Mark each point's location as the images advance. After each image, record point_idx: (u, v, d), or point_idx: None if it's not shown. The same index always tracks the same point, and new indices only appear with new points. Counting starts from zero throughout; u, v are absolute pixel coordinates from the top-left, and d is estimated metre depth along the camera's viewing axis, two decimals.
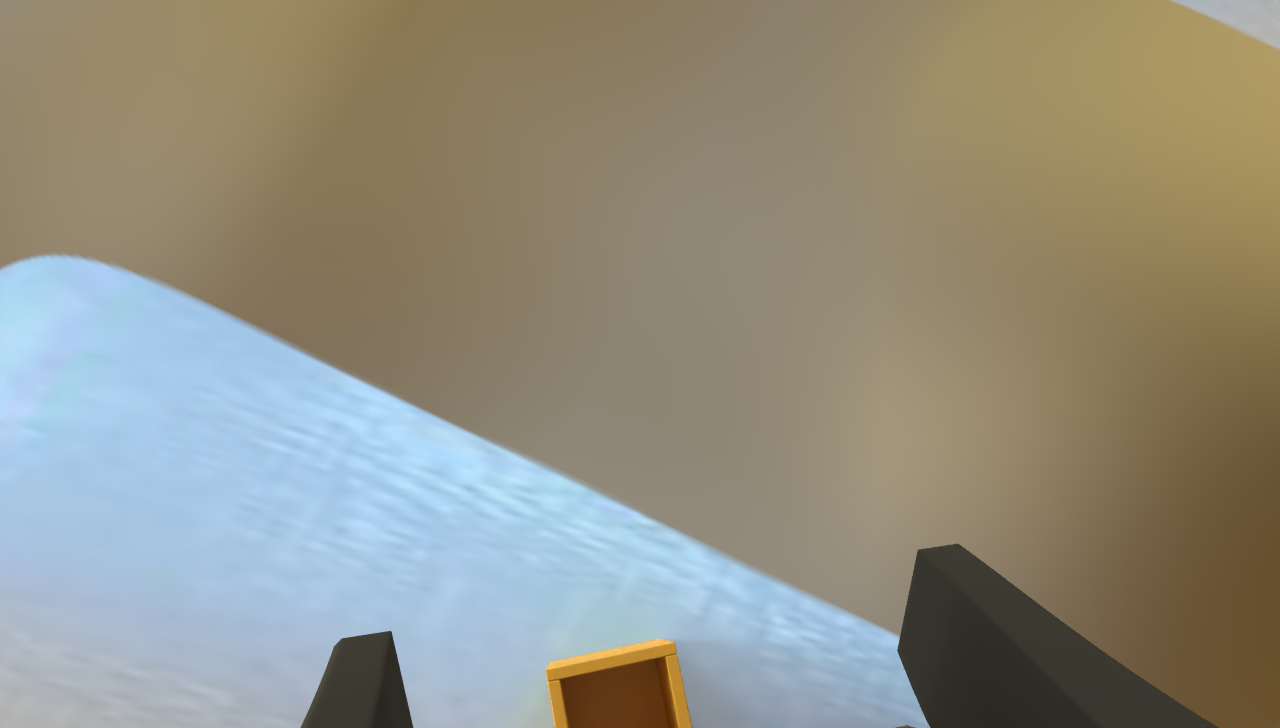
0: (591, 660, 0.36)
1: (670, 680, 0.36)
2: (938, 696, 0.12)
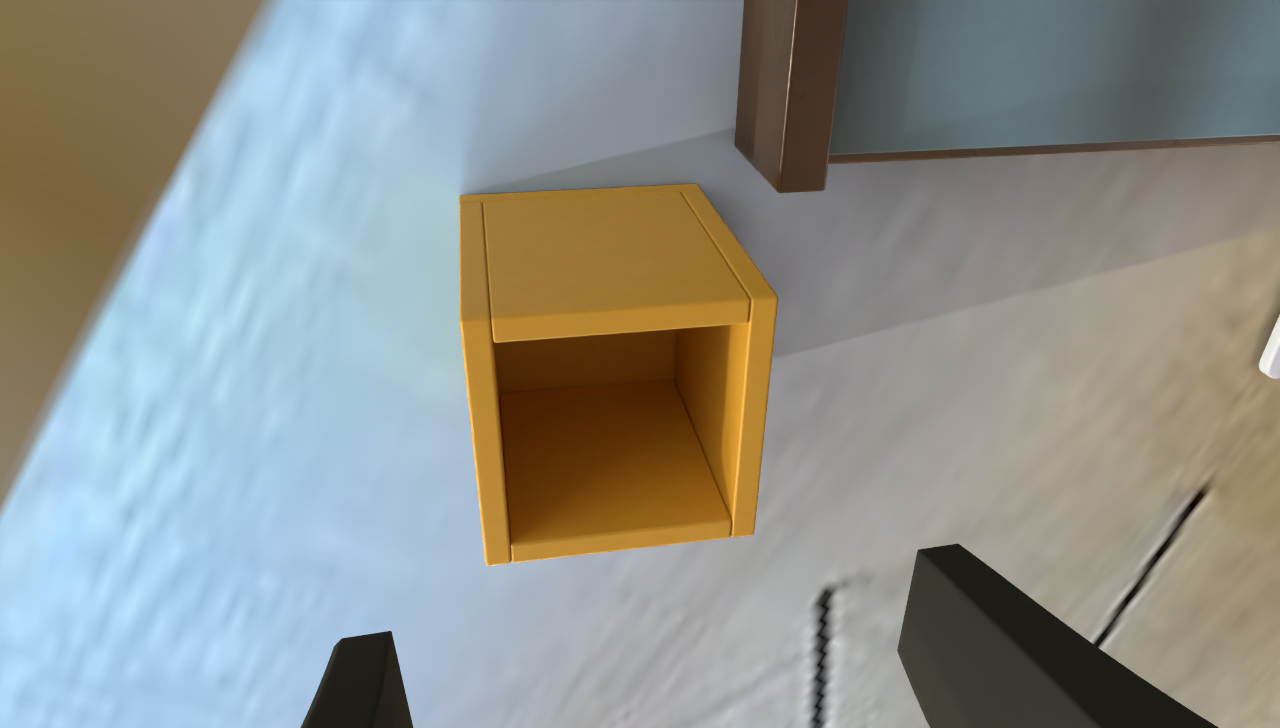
0: (479, 489, 0.16)
1: (550, 335, 0.15)
2: (938, 696, 0.12)
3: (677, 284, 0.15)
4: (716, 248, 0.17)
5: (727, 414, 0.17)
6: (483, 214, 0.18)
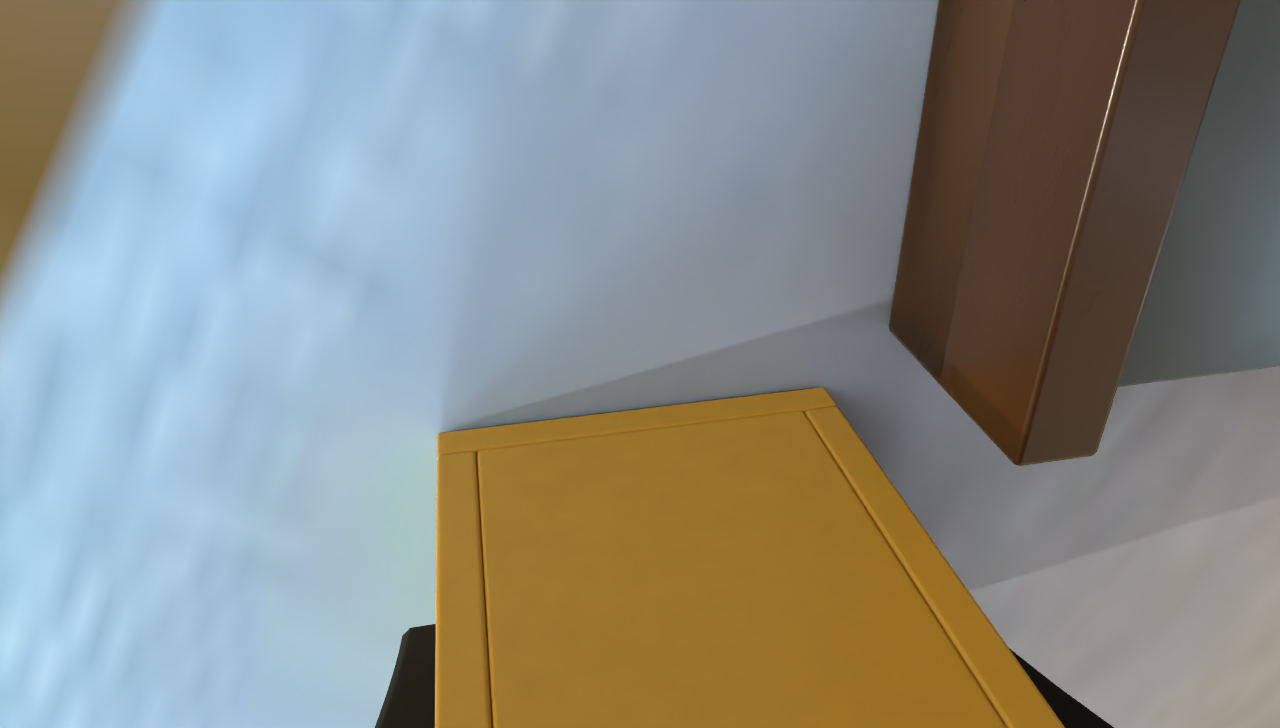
0: None
1: None
2: None
3: (871, 720, 0.08)
4: (906, 574, 0.09)
5: None
6: (478, 480, 0.11)
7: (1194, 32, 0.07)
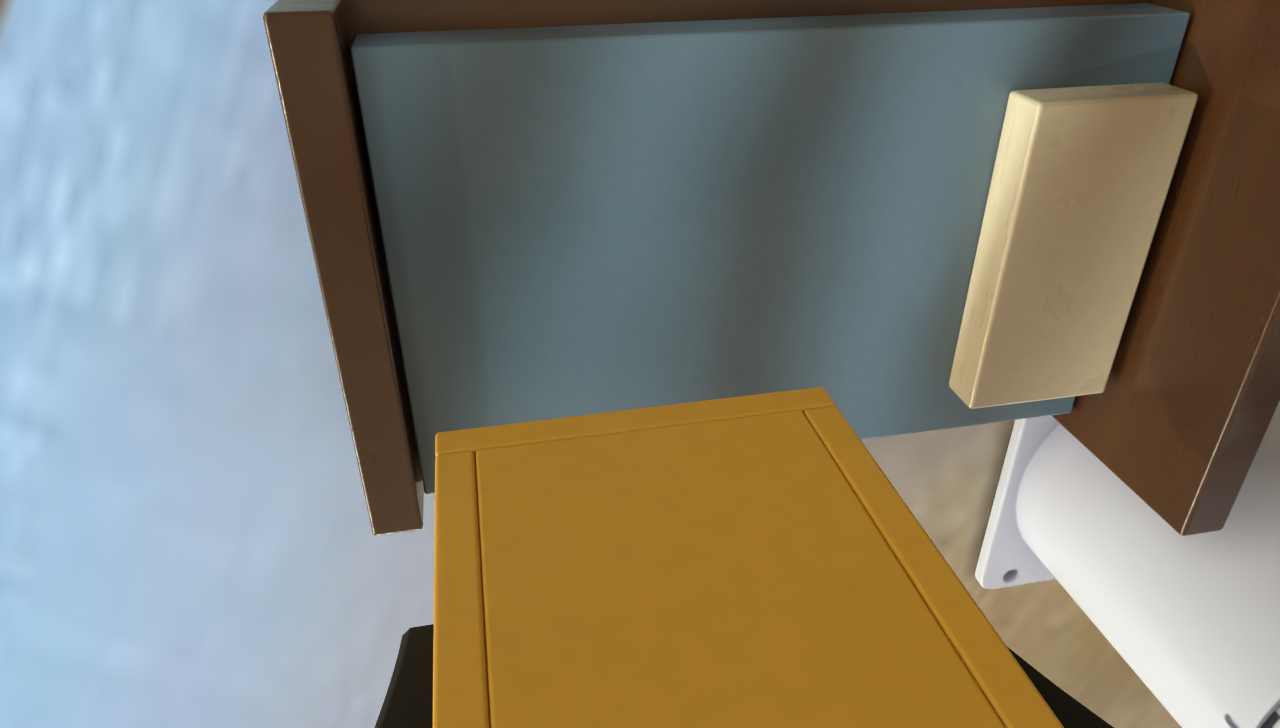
0: None
1: None
2: None
3: (870, 719, 0.08)
4: (907, 575, 0.09)
5: None
6: (476, 479, 0.11)
7: (368, 345, 0.15)
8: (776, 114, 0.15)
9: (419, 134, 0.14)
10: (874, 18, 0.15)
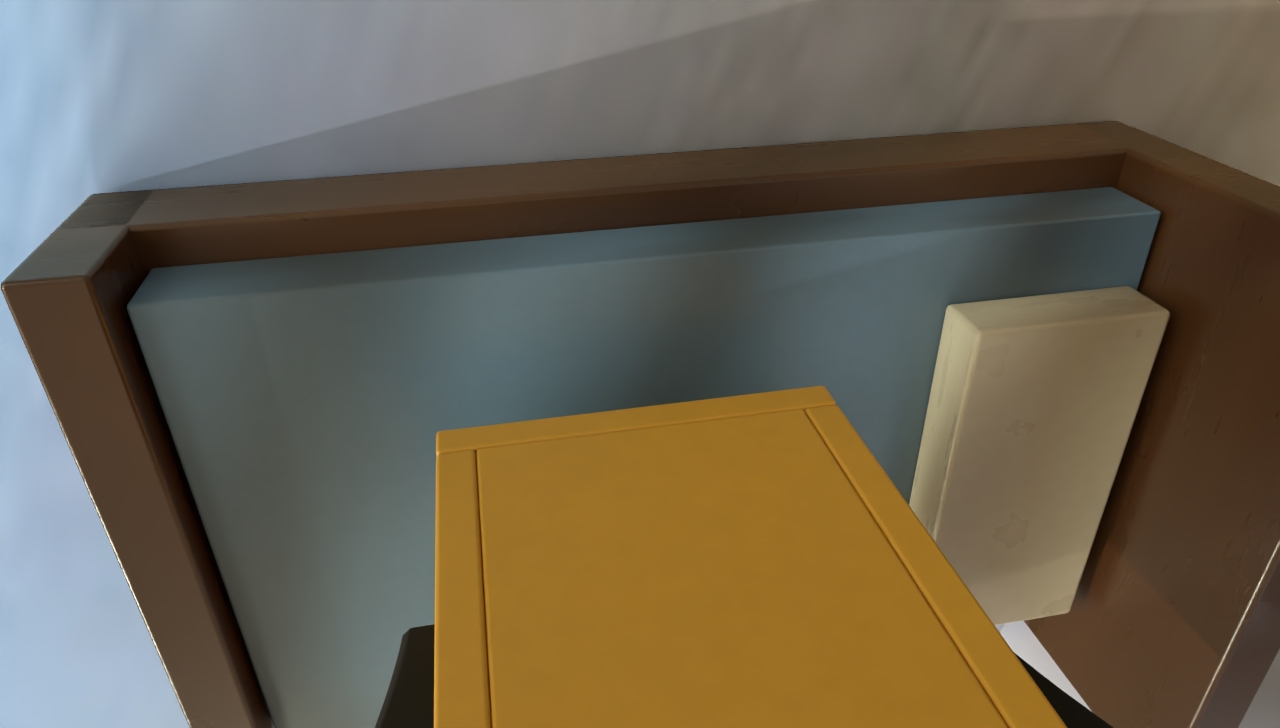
0: None
1: None
2: None
3: (872, 717, 0.08)
4: (907, 573, 0.09)
5: None
6: (477, 478, 0.11)
7: (185, 615, 0.13)
8: (664, 344, 0.13)
9: (225, 391, 0.12)
10: (782, 226, 0.13)
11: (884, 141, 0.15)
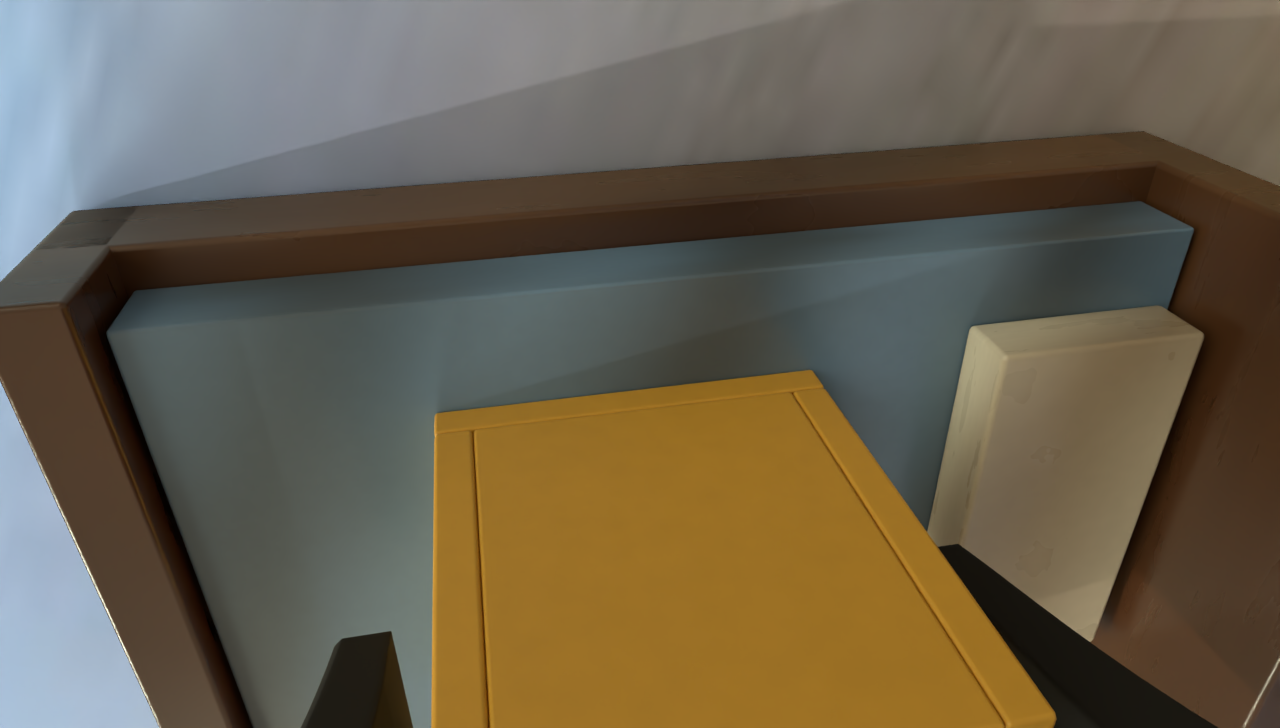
0: None
1: None
2: None
3: (851, 678, 0.08)
4: (888, 546, 0.10)
5: None
6: (474, 457, 0.11)
7: (171, 653, 0.12)
8: (674, 369, 0.12)
9: (211, 420, 0.11)
10: (798, 244, 0.12)
11: (902, 153, 0.14)
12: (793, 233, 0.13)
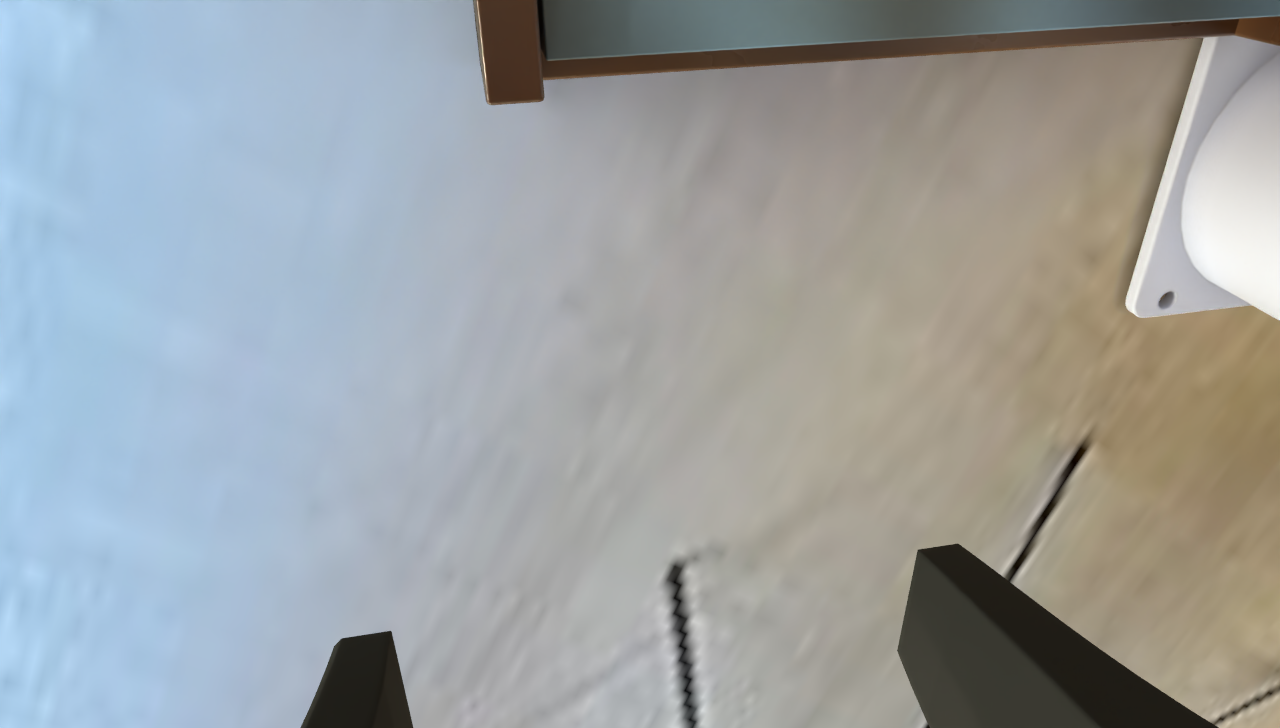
0: None
1: None
2: (939, 696, 0.12)
3: None
4: None
5: None
6: None
7: None
8: None
9: None
10: None
11: None
12: None
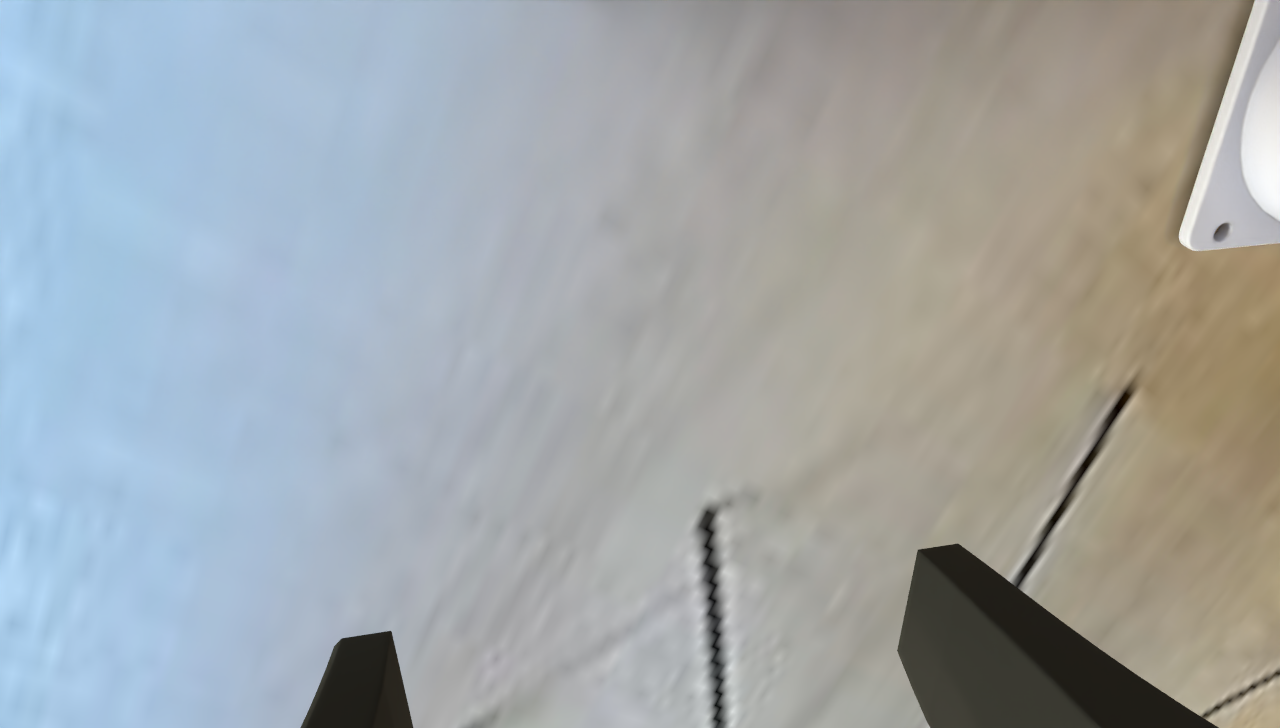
0: None
1: None
2: (938, 696, 0.12)
3: None
4: None
5: None
6: None
7: None
8: None
9: None
10: None
11: None
12: None
